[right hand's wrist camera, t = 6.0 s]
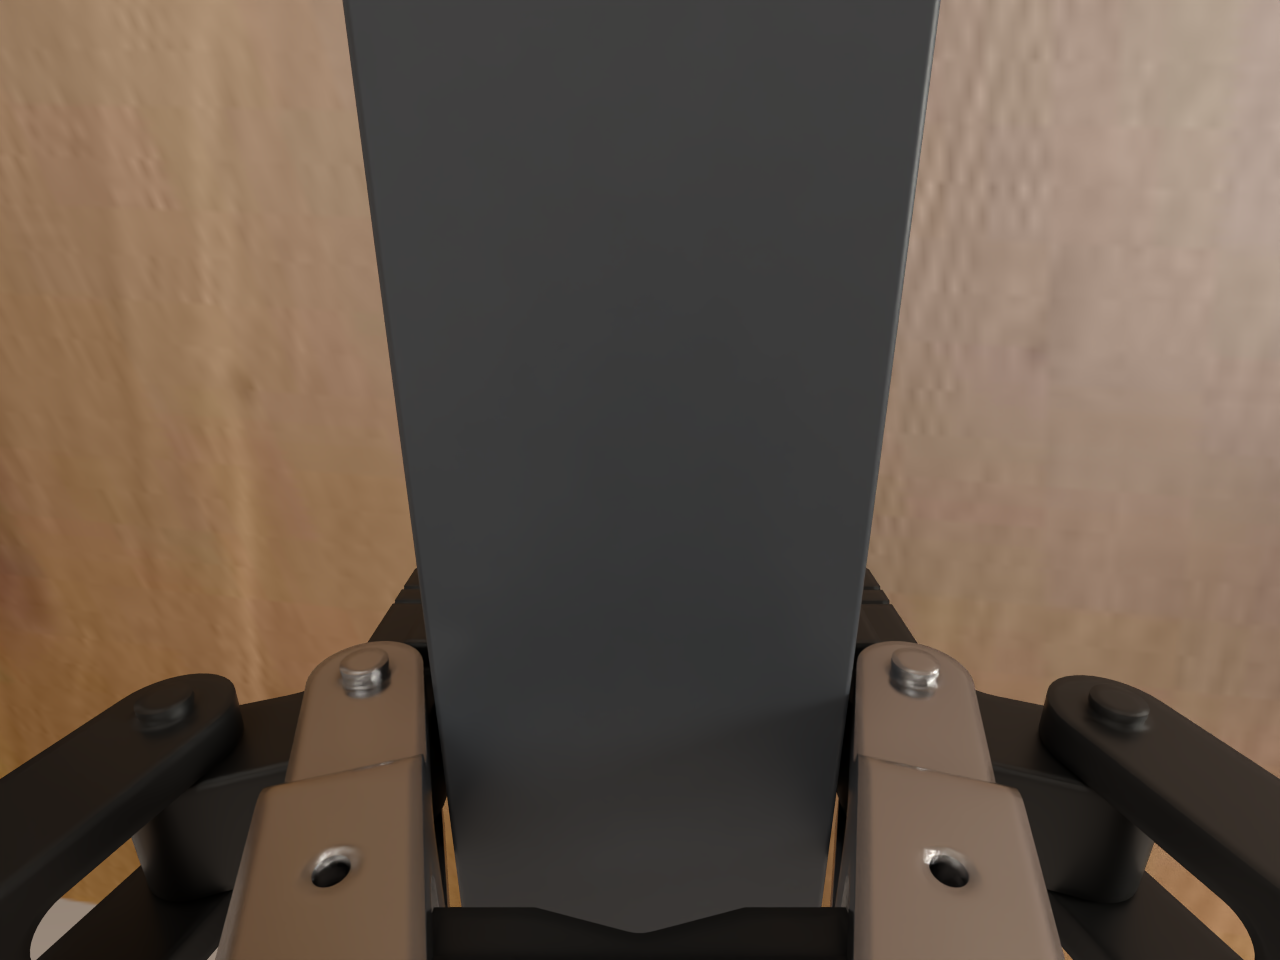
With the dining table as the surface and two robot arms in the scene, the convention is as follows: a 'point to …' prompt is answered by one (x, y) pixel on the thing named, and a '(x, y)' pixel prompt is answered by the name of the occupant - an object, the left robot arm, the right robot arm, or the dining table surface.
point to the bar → (641, 419)
